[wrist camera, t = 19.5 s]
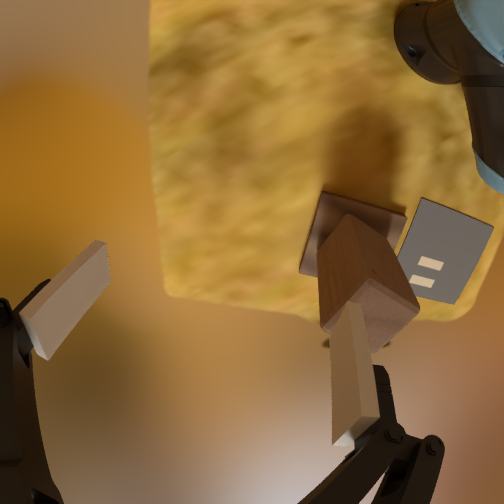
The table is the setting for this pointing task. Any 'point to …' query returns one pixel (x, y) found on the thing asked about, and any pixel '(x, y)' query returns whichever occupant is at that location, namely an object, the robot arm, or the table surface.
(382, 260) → the wooden block
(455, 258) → the gray tile
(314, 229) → the walnut board
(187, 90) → the table surface
